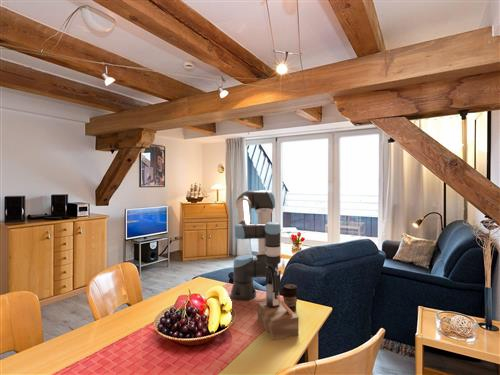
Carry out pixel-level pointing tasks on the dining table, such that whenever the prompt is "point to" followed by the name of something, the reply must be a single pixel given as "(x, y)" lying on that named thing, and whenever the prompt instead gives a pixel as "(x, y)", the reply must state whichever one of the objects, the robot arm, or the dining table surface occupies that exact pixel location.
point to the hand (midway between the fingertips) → (272, 301)
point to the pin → (270, 296)
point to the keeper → (284, 305)
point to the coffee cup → (290, 296)
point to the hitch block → (278, 321)
